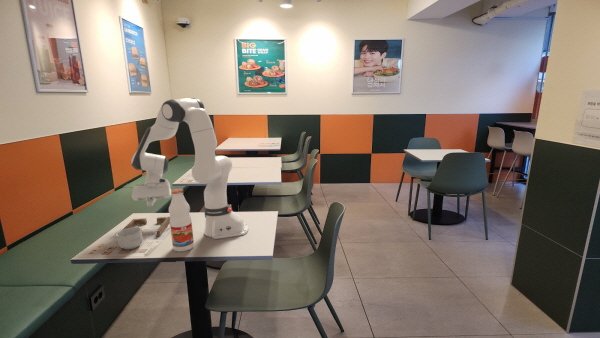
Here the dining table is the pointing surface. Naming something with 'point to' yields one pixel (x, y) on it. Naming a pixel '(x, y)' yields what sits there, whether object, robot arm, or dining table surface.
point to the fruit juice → (180, 222)
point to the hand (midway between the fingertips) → (150, 205)
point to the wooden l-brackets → (163, 220)
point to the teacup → (130, 237)
